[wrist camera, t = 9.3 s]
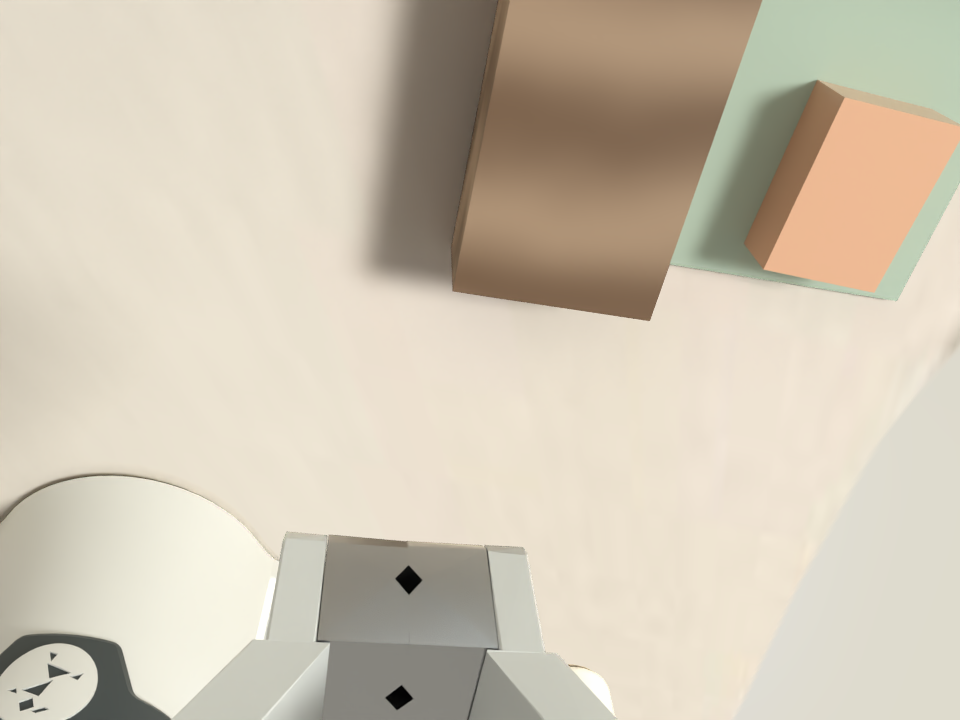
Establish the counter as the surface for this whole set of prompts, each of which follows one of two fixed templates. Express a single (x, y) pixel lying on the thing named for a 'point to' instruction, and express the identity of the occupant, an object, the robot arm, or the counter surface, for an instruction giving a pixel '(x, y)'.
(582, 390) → the counter surface
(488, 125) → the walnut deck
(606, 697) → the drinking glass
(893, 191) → the terracotta tile
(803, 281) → the sage mat
